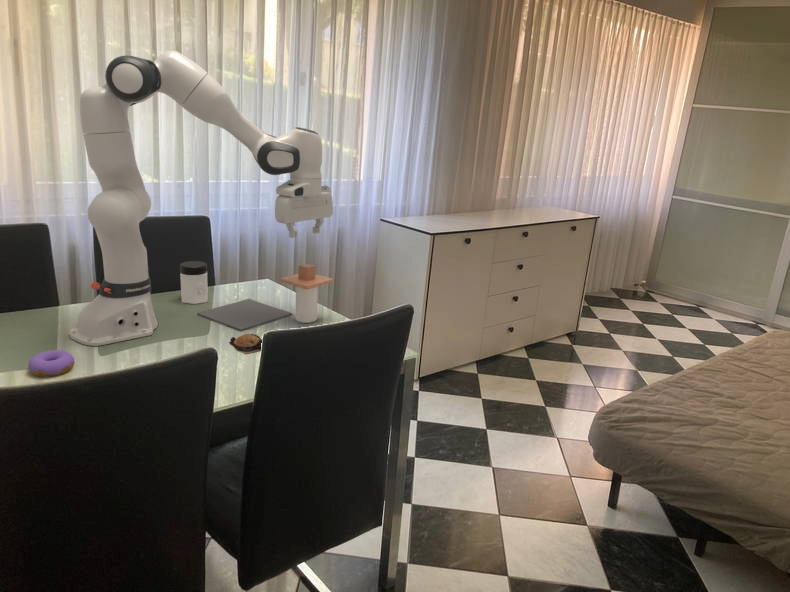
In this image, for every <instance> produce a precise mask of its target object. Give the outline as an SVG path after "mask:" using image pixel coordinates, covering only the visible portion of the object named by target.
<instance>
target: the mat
mask: <svg viewBox="0 0 790 592" xmlns="http://www.w3.org/2000/svg"><path fill="white" fill-rule="evenodd" d="M196 314H197V316H200V317H202V318H205V319H207V320H209V321H213V322H215V323H218V324H220V325H222V326H225V327H228V328H230V329H233V330H236V331H238V332H244V331H248V330H250V329H254V328H256V327H261V326H263V325H265V324H270V323H272V322H276V321H278V320H283V319H284V318H288V317H290V316H293V313H292V312H289V311H287V310H284V309H281V308H278V307H275V306H272V305H269V304H266V303H264V302H261V301H257V300H255V299H252V298H251V299H250V298H247V299H243V300H239V301H237V302H233V303H228V304H225V305H222V306H217V307H213V308H211V309H206V310H203V311H200V312H197V313H196Z"/></svg>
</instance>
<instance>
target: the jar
mask: <svg viewBox="0 0 790 592" xmlns="http://www.w3.org/2000/svg"><path fill="white" fill-rule="evenodd" d="M179 271H180V274H179V276H180V277H179V278H180V294H181V295H180V296H181V303H184V304H191V305H197V304H204V303H207V302H208V301H209V300H208V299H209V290H208V289H209V287H208V264H207V263H206V262H204V261H200V260H189V261H184V262H181V263H180V264H179Z"/></svg>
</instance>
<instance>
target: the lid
mask: <svg viewBox="0 0 790 592" xmlns="http://www.w3.org/2000/svg"><path fill="white" fill-rule="evenodd" d="M297 269H298V270H297V271H298V273H295V274H292V275H288V276H285V277H284V276H283V277H281V278H279V282H280V283H284V284H287V285H290V286H293V287H295V288H296V287H300V288H303V289H306V290H308V289H311V288H315V287H321V286H325V285H329V284H332V283H334V278H331V277H328V276H324V275H320V274H316V265H314V264H311V263H304V264H299V265H298V268H297Z"/></svg>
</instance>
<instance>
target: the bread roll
mask: <svg viewBox="0 0 790 592" xmlns="http://www.w3.org/2000/svg"><path fill="white" fill-rule="evenodd" d="M262 340H263V339H262V338H261V337H260V336H259V335H257V334H254V333H245V334H242V335H239V336H238V337H233V336H232V337H231V338H230V341H228V344H229V345H230V346H231V347H233V348H234V349H235V350H237V351H239V352H240V353H243V354H244V355H250V354H254V353H258V352H262V351H261V343H262Z"/></svg>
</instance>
